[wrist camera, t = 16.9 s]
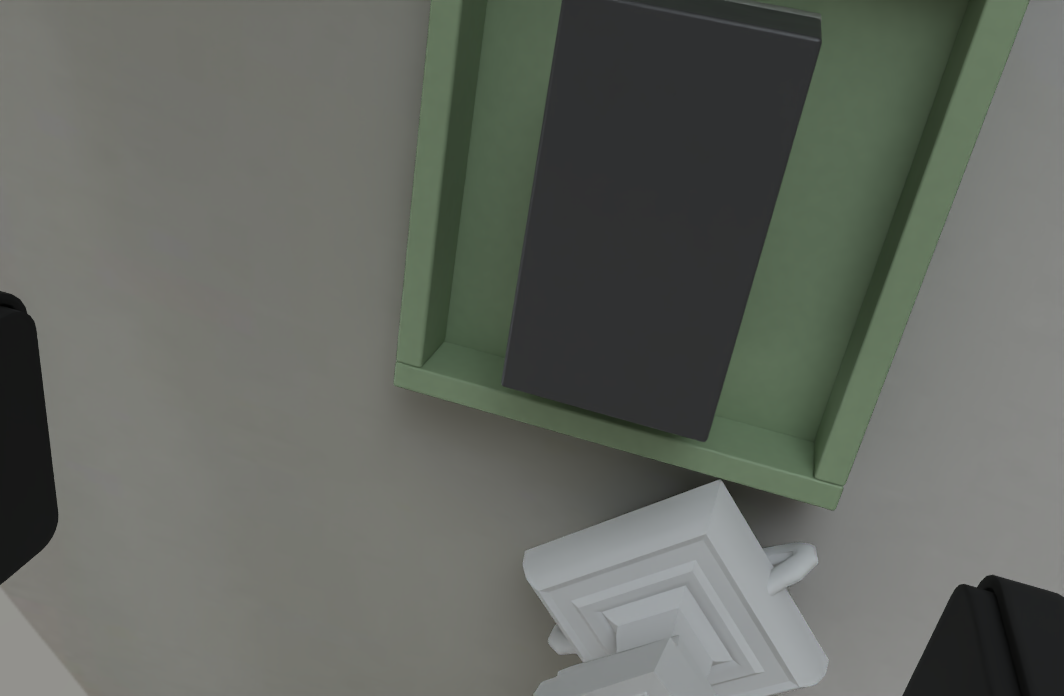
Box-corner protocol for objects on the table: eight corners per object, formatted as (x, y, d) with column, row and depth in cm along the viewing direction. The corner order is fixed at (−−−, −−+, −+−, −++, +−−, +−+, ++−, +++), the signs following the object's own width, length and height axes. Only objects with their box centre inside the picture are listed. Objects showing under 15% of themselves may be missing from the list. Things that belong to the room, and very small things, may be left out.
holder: (486, -187, 22) (448, -199, 20) (1038, -96, 20) (1067, -97, 18) (425, 348, 29) (392, 386, 26) (833, 461, 26) (835, 512, 24)
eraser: (612, -27, 22) (563, -13, 18) (822, 13, 21) (823, 38, 17) (551, 309, 26) (499, 387, 22) (724, 354, 25) (706, 444, 21)
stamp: (616, 667, 32) (556, 892, 24) (515, 518, 30) (418, 708, 23) (867, 593, 28) (885, 835, 21) (764, 418, 26) (744, 610, 19)
